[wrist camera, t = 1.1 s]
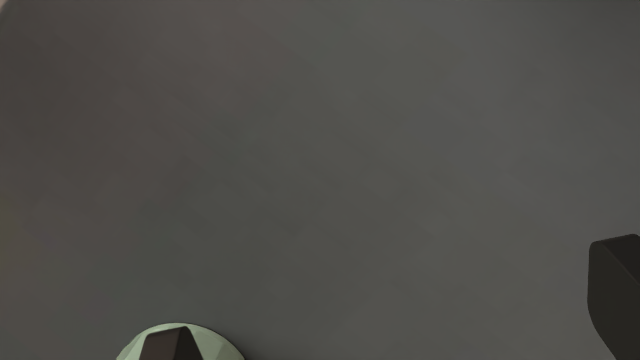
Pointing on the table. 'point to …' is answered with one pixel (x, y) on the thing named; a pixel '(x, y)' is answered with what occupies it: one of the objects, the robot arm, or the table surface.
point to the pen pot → (212, 346)
